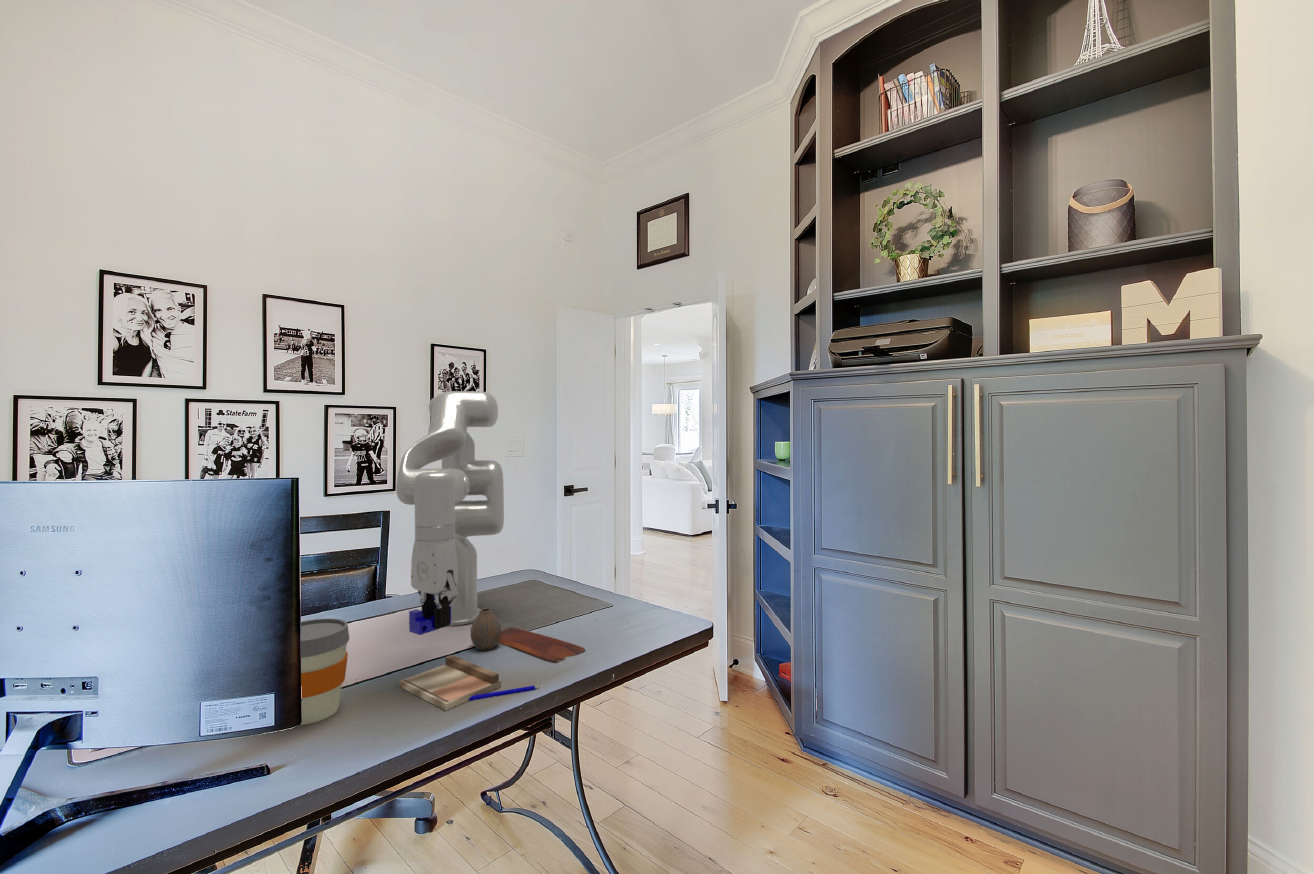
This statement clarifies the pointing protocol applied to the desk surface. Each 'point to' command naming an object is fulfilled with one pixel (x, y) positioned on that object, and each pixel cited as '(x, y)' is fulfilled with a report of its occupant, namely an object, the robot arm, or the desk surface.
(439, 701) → the maple board
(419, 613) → the cable holder
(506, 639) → the wooden tablet
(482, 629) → the vase
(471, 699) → the pencil
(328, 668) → the reusable coffee cup
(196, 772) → the desk surface
